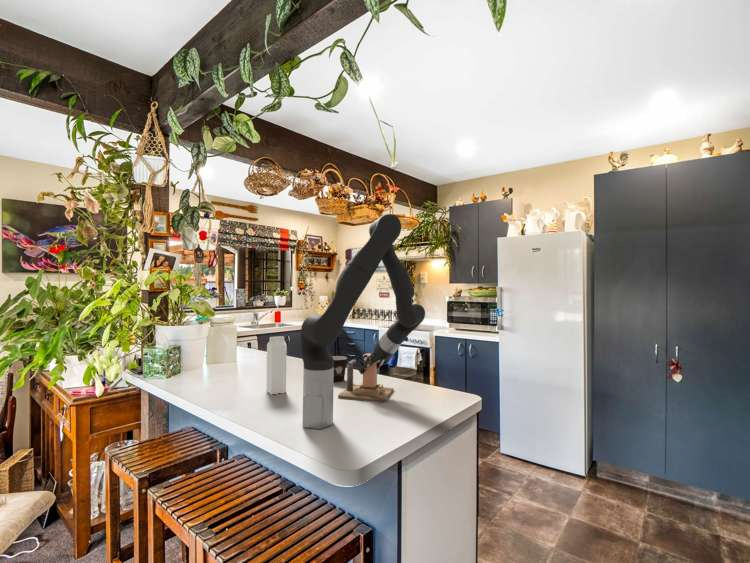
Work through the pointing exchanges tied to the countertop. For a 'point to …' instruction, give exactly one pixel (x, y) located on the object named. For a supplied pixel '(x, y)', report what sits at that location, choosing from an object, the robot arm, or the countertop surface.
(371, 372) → the link block
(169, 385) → the countertop surface
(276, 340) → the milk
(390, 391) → the pintle seat
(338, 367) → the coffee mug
